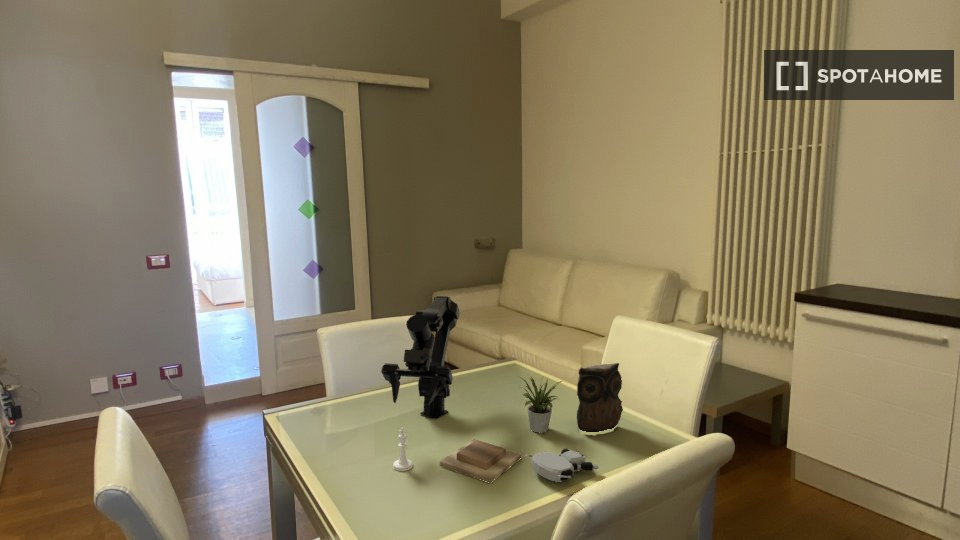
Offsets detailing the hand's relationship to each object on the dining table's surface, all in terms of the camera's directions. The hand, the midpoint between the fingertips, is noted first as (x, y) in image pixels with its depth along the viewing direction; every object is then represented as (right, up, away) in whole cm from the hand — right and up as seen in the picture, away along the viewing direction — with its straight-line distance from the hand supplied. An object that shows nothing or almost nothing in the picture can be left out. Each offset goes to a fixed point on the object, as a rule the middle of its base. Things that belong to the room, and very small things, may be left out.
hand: (411, 403), depth 136 cm
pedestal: (+18, -14, -3) cm, 23 cm away
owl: (+52, -12, +18) cm, 57 cm away
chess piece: (-1, -14, -6) cm, 16 cm away
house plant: (+34, -12, +16) cm, 39 cm away
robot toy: (+38, -15, -8) cm, 42 cm away
